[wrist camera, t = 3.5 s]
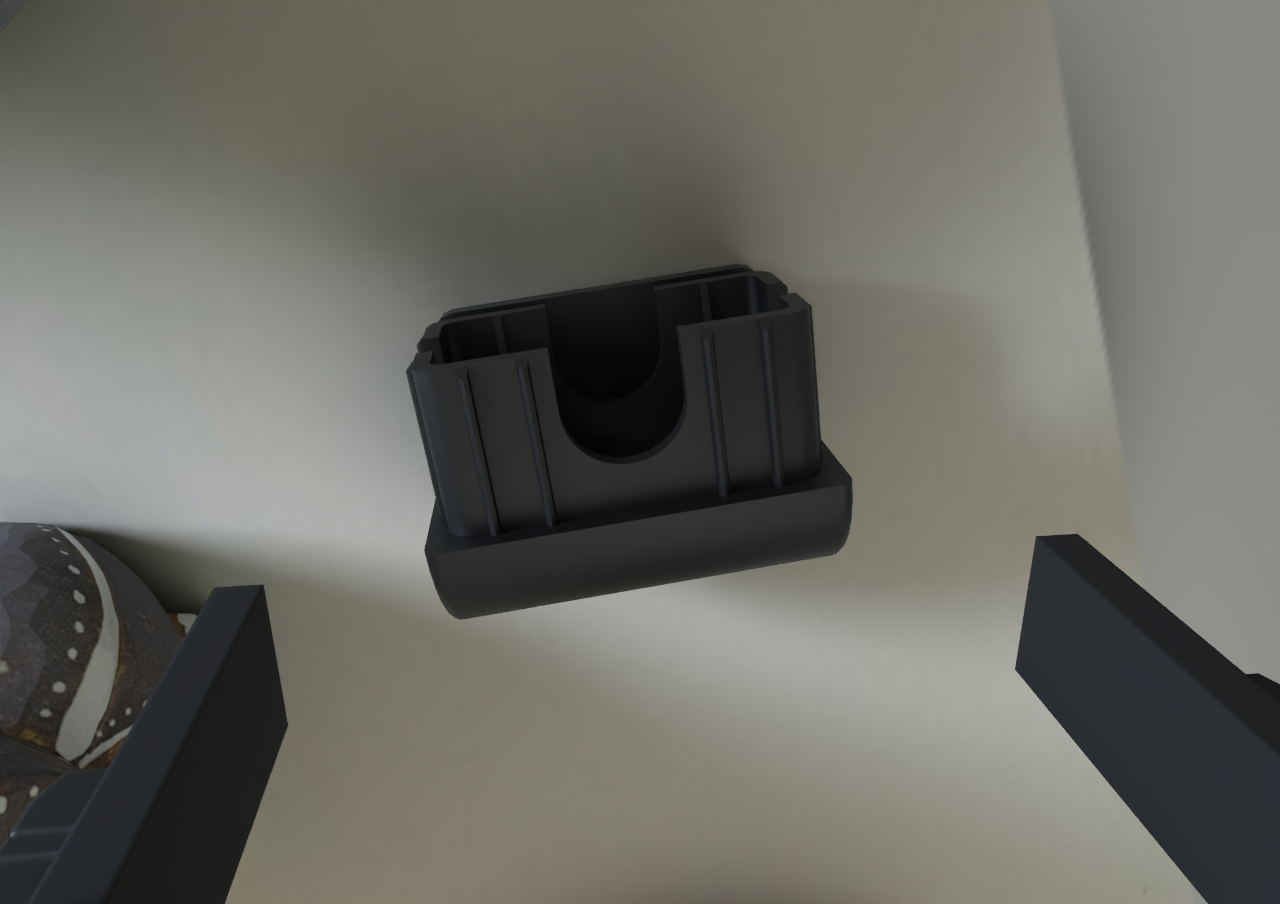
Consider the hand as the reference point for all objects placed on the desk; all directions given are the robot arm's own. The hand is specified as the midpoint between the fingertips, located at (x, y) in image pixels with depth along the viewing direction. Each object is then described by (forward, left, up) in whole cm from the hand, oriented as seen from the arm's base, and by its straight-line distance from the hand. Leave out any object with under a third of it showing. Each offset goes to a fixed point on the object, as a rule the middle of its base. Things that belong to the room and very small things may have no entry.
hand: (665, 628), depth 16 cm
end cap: (0, 0, -13) cm, 13 cm away
